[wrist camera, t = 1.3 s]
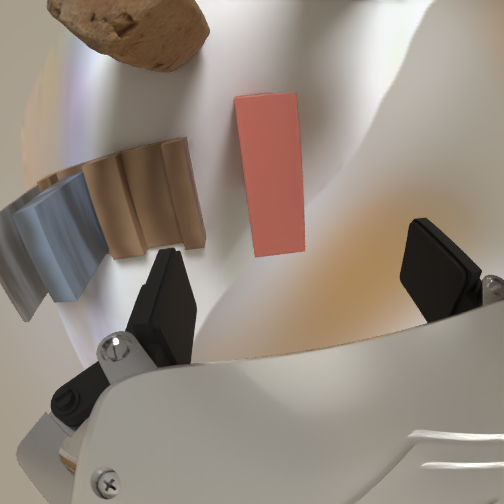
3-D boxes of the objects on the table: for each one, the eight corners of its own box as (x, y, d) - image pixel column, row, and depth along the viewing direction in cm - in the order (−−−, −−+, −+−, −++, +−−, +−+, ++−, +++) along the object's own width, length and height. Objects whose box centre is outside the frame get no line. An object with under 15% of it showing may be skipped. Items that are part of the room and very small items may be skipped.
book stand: (186, 136, 32) (148, 172, 18) (206, 236, 39) (192, 319, 26) (43, 177, 32) (-26, 227, 19) (73, 256, 40) (26, 324, 26)
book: (269, 93, 30) (296, 93, 16) (278, 185, 36) (305, 251, 22) (235, 96, 30) (233, 98, 16) (247, 189, 36) (254, 257, 22)
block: (219, 40, 26) (198, -22, 9) (170, 80, 28) (92, 73, 11) (163, -10, 21) (97, -84, 4) (117, 30, 23) (15, -3, 6)
